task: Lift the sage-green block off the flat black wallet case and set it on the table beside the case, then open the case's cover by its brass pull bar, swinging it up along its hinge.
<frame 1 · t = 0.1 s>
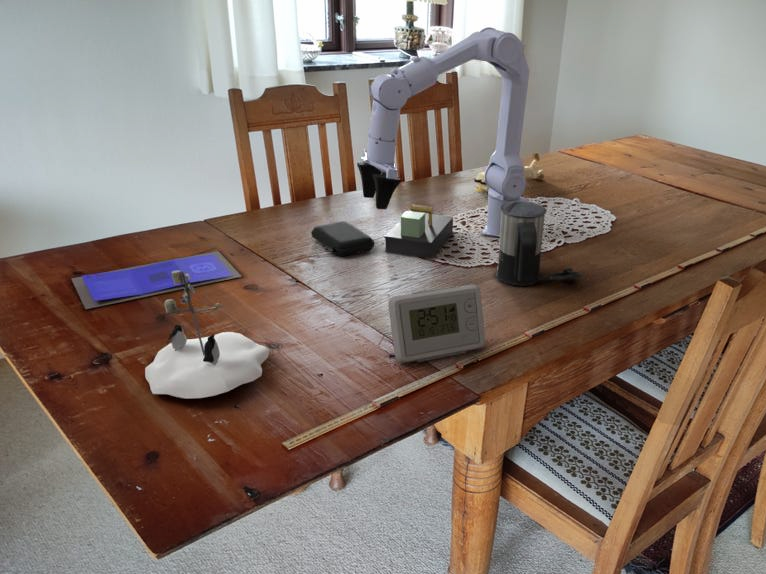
hand: (374, 202, 146), 10 cm above the table, tool pointing down, fingers open, 7 cm apart
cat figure: (507, 186, 195), on the table
figurine: (210, 371, 108), on the table
cover: (419, 218, 153), point 6 cm above the table, hinge at 0.0°, touching block
carrying case: (340, 245, 153), on the table
digital clock: (437, 352, 116), on the table
booklet: (158, 278, 134), on the table
milk frother: (537, 280, 142), on the table
block: (413, 233, 150), point 4 cm above the table, touching cover
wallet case: (420, 242, 156), on the table
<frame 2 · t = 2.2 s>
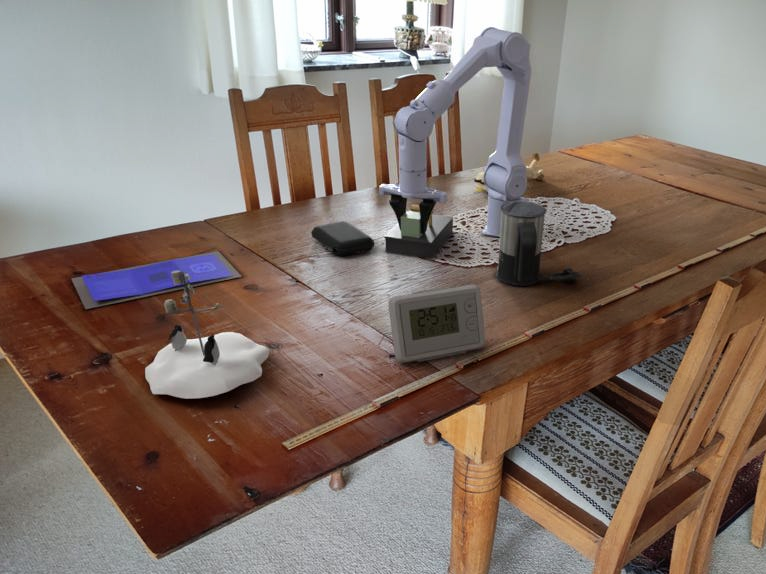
hand: (413, 230, 150), 5 cm above the table, tool pointing down, fingers closed on block, 4 cm apart
cover: (419, 218, 153), point 6 cm above the table, hinge at -0.1°
block: (413, 233, 150), point 4 cm above the table, touching gripper
everything else where it was.
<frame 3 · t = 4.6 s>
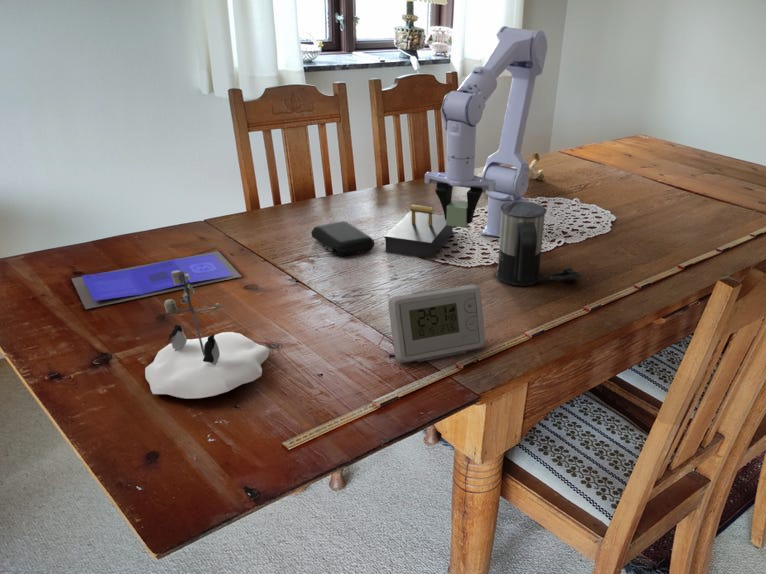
hand: (458, 220, 144), 9 cm above the table, tool pointing down, fingers closed on block, 4 cm apart
block: (458, 223, 145), point 8 cm above the table, touching gripper
everything else where it was.
when the fingers open (1 cm above the table, at t = 7.0 s): block stays where it is, on the table.
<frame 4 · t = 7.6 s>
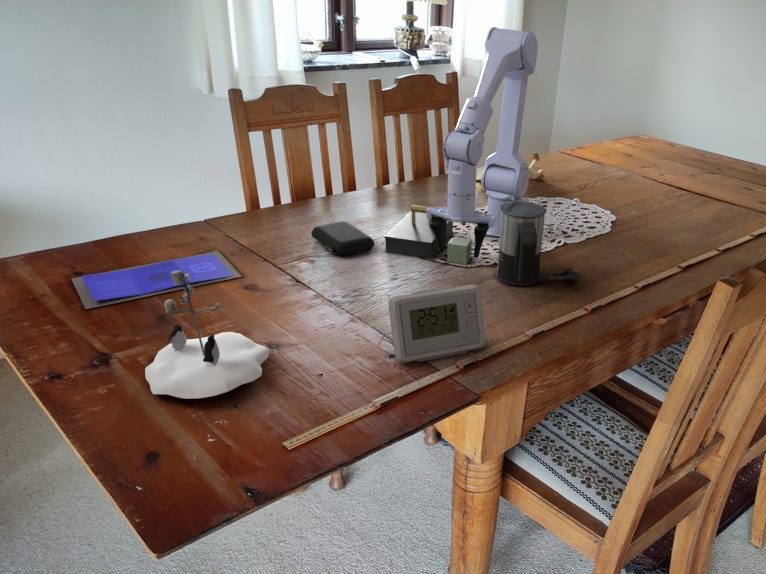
hand: (459, 253, 148), 1 cm above the table, tool pointing down, fingers open, 7 cm apart
block: (459, 259, 149), on the table
everything else where it was.
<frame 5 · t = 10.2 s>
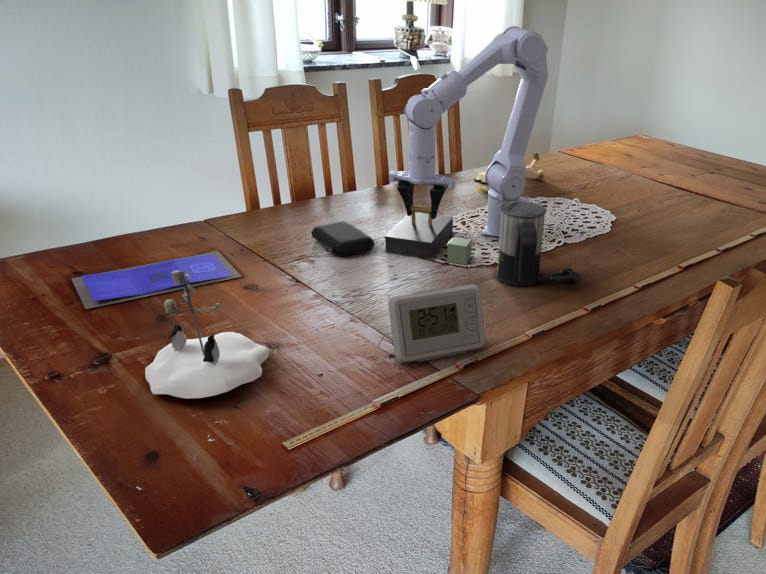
hand: (421, 216, 154), 6 cm above the table, tool pointing down, fingers closed on cover, 5 cm apart
cover: (419, 218, 153), point 6 cm above the table, hinge at -0.1°, touching gripper
everything else where it was.
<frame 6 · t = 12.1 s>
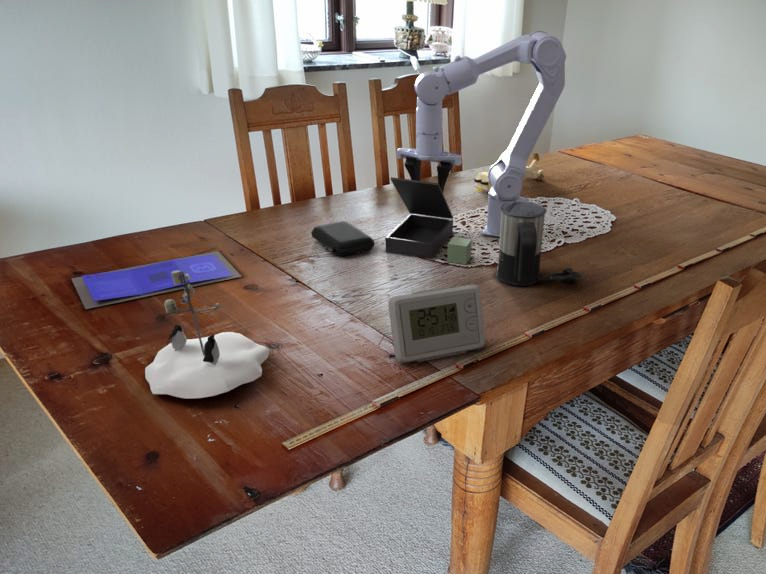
hand: (428, 193, 156), 10 cm above the table, tool pointing down, fingers closed on cover, 5 cm apart
cover: (425, 190, 153), point 11 cm above the table, hinge at 43.6°, touching gripper
everything else where it was.
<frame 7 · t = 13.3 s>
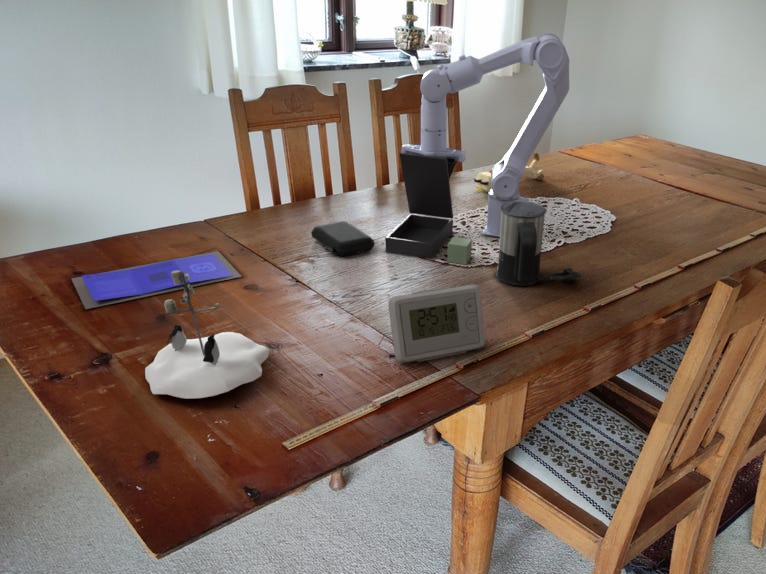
hand: (432, 189, 159), 10 cm above the table, tool pointing down, fingers closed on cover, 5 cm apart
cover: (429, 180, 155), point 12 cm above the table, hinge at 67.2°, touching gripper
everything else where it was.
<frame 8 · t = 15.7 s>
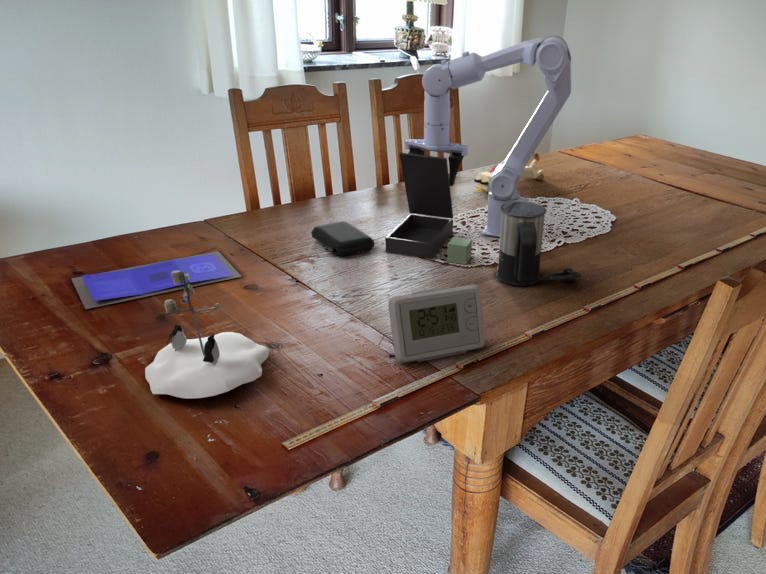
hand: (436, 182, 160), 10 cm above the table, tool pointing down, fingers open, 7 cm apart
cover: (429, 180, 155), point 12 cm above the table, hinge at 67.2°
everything else where it was.
at the end: block inside the target area (0.3 cm from its centre), on the table; cover at +67° (first picture: +0°) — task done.
